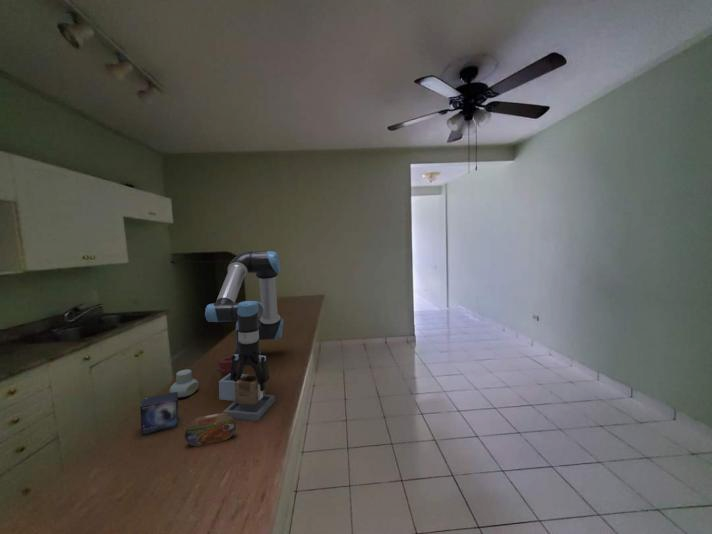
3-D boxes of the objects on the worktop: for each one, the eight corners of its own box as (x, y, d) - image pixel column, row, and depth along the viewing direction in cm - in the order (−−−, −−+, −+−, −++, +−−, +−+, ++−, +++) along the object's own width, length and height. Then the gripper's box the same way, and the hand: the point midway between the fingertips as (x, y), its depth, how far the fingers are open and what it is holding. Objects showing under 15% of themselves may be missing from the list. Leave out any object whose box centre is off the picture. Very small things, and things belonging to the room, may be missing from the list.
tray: (243, 398, 119) (243, 393, 119) (274, 401, 117) (274, 395, 117) (223, 418, 105) (223, 411, 105) (258, 421, 103) (258, 414, 103)
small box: (140, 436, 95) (139, 406, 94) (144, 426, 100) (143, 397, 100) (177, 427, 100) (176, 398, 99) (179, 418, 105) (178, 390, 105)
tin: (184, 448, 89) (183, 423, 88) (187, 442, 92) (186, 417, 91) (236, 438, 93) (235, 414, 93) (237, 433, 96) (236, 409, 96)
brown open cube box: (246, 392, 115) (245, 373, 115) (264, 394, 114) (264, 374, 114) (235, 403, 107) (234, 382, 107) (254, 404, 106) (254, 384, 106)
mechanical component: (227, 389, 127) (213, 384, 132) (245, 380, 136) (231, 376, 141) (226, 362, 127) (212, 358, 131) (244, 355, 135) (230, 352, 140)
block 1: (230, 390, 126) (230, 373, 126) (246, 391, 125) (246, 374, 125) (219, 399, 118) (218, 381, 118) (236, 401, 117) (236, 382, 117)
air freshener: (186, 387, 129) (185, 366, 129) (202, 389, 128) (201, 367, 127) (166, 399, 119) (165, 376, 118) (182, 401, 117) (181, 378, 116)
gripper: (218, 343, 107) (220, 400, 108) (269, 345, 104) (270, 404, 105) (229, 337, 115) (231, 391, 116) (278, 339, 112) (279, 394, 113)
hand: (250, 397), depth 111 cm, fingers closed on brown open cube box, 8 cm apart
